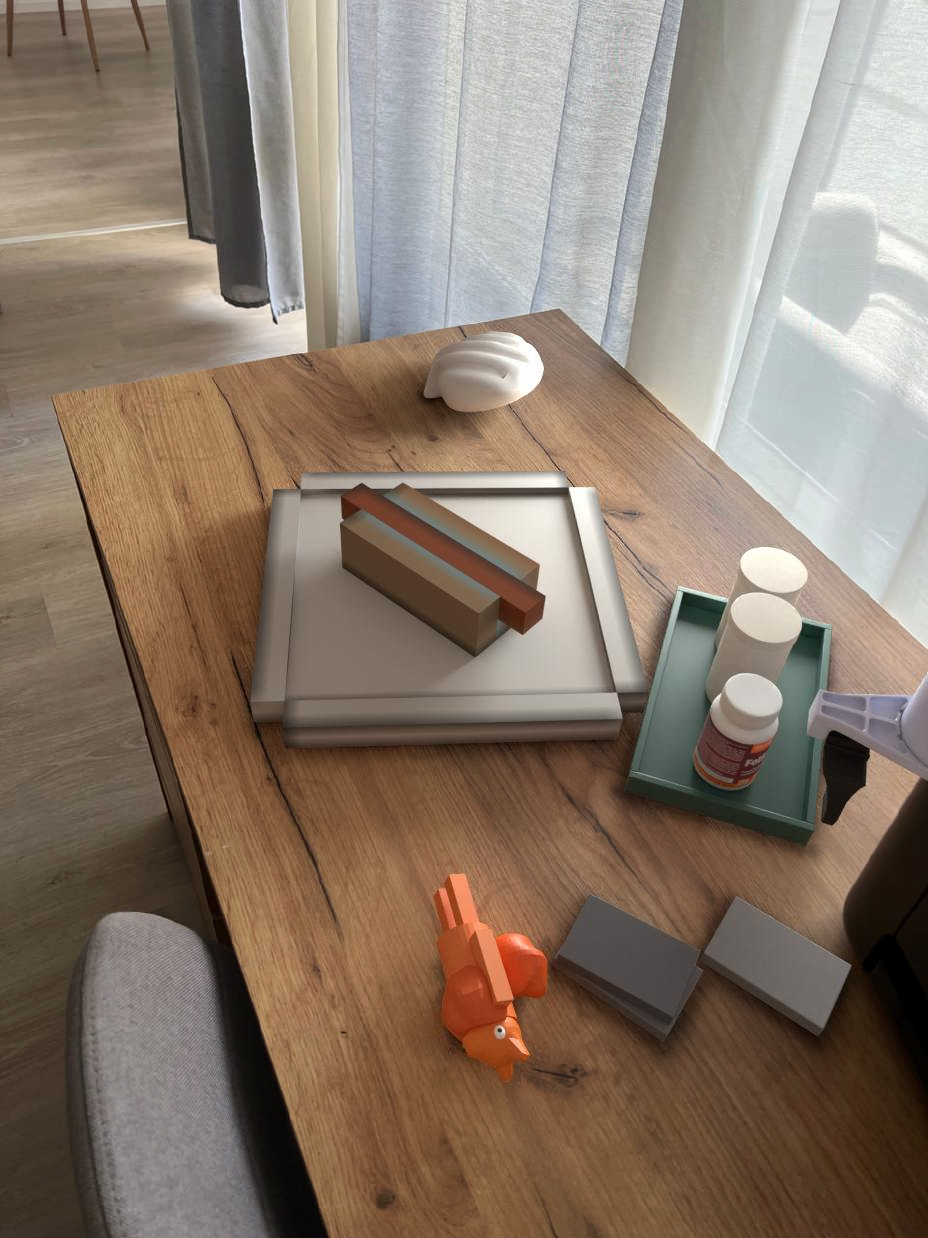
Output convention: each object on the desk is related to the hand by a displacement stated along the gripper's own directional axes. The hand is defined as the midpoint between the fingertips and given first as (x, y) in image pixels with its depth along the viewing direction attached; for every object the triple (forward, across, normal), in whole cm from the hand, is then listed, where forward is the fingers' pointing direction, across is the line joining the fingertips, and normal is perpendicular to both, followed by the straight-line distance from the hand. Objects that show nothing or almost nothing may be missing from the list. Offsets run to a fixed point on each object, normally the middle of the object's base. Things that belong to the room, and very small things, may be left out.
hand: (891, 830), depth 58 cm
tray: (+9, -9, +14) cm, 19 cm away
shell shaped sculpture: (+10, -41, +49) cm, 65 cm away
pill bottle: (+9, -9, +8) cm, 15 cm away
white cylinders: (+9, -9, +19) cm, 23 cm away
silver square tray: (+10, -35, +17) cm, 40 cm away
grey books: (+9, -9, -8) cm, 15 cm away
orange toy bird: (+10, -21, -14) cm, 27 cm away
